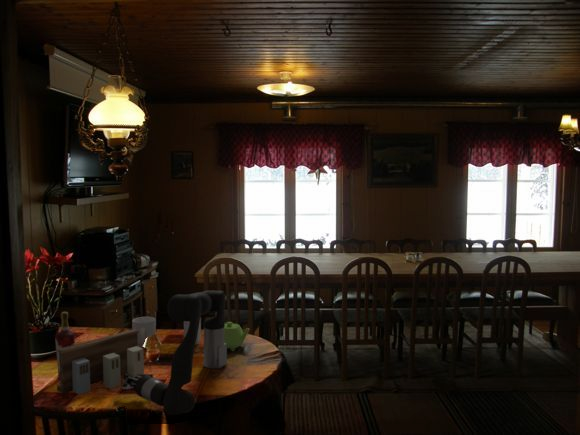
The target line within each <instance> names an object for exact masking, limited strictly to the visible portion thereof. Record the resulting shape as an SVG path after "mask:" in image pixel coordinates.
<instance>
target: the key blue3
mask: <svg viewBox="0 0 580 435" xmlns="http://www.w3.org/2000/svg"><path fill="white" fill-rule="evenodd" d="M72 382H73V391H72V392H74V394H76V395H78V396H80V395H83V394H86V393H89V392H91V385H90V361H89V360H87V359H85V358H80V359H77V360H73V361H72Z"/></svg>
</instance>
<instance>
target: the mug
mask: <svg viewBox="0 0 580 435" xmlns="http://www.w3.org/2000/svg"><path fill="white" fill-rule="evenodd" d="M131 323H132V325H131V326H132V328H131V330H134V329H135V330H137V331H138V332H139V333H137V336H138V347H140V348H142V345H143V344H144V342H145V339H146V338H147V337H148V336H150V335H155V336H156V330H157V329H156V318H155V317H153V316H140V317H135V318H134V319H132V322H131Z"/></svg>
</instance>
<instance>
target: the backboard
mask: <svg viewBox="0 0 580 435" xmlns="http://www.w3.org/2000/svg"><path fill="white" fill-rule="evenodd" d="M137 333H139V332H138V331H137V330H135V329H134V330H132V329H131V330H127V331H122V332H119V333H114V334H115V335H112V334H110V335H111V336H109V335H107V336H105V337H104V336H103V337H101V338H96V339H93V340H92V339H91V340H88V341H84V342H81V343H80V342H79V343H77V344H76V343H75V345H72V346H68V347H64V348H60V349H58V352H59V362H60V381H59V384H57V385H56V390H57V391H58V392H59V393H61V394H63V395H65V394H68V393H72V392H73V382H72V361H73V360H77V359H80V358H85V359H87V360H89V361H90V386H92V385H95V384H96V385H97V384H98V383H101V382H104V379H103V356H104V355H108V354H111V353H115V354H117V355H119V356H120V375H121V376H124V374H127V349H128V348H132V347H135V346H138V336H137Z"/></svg>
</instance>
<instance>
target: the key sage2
mask: <svg viewBox="0 0 580 435" xmlns="http://www.w3.org/2000/svg"><path fill="white" fill-rule="evenodd" d="M121 376H122V375H120V356H119V355H117V354H115V353H111V354H108V355H104V356H103V379H104V381H103V386H104V387H106V388H108V389H110V390H111V389H115V388H116V387H120V386H122V383H121V382H122V380H121Z"/></svg>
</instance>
